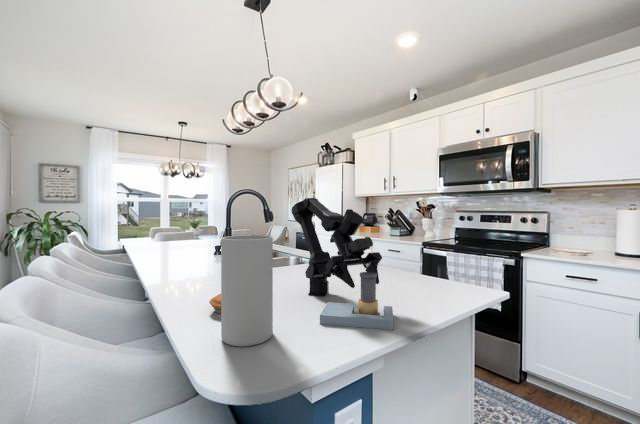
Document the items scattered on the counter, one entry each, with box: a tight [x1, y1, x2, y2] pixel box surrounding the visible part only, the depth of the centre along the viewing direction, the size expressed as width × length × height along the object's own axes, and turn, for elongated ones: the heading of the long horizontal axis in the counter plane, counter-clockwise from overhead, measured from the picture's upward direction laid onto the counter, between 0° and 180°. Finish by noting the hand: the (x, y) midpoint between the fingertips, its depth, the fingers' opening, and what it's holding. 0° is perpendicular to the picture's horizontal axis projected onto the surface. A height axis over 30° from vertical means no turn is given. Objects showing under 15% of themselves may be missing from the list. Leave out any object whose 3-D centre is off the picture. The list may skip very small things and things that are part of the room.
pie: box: [209, 293, 221, 316], centre depth 95 cm, size 16×16×5 cm
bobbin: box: [356, 271, 381, 316], centre depth 89 cm, size 7×7×13 cm
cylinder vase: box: [220, 234, 274, 347], centre depth 75 cm, size 12×12×25 cm
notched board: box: [319, 301, 394, 331], centre depth 87 cm, size 20×12×2 cm, turn 78°
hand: (366, 285), depth 89 cm, fingers open, 9 cm apart
